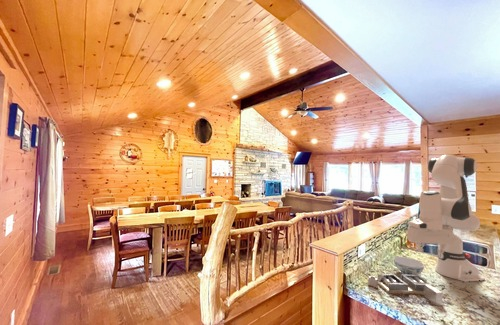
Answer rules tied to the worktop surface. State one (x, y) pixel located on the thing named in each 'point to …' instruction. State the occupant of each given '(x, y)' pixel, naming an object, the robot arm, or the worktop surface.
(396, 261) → the chinaware
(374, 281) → the lighter
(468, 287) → the worktop surface
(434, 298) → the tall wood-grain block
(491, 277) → the worktop surface
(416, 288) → the metal roller rack
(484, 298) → the worktop surface
